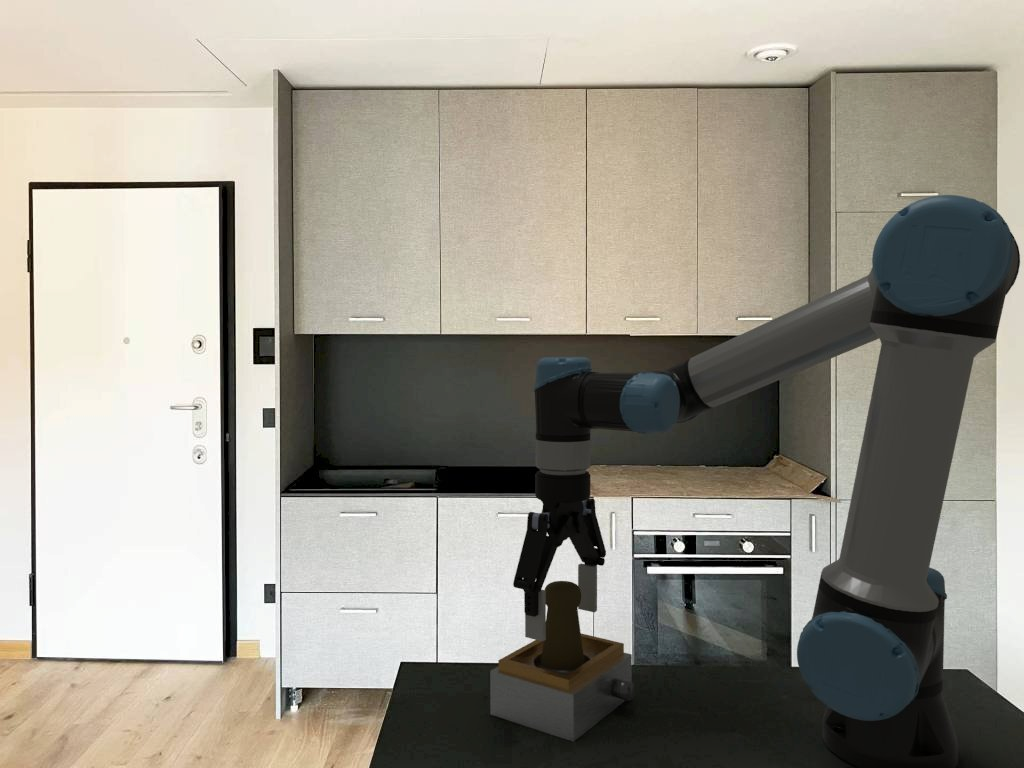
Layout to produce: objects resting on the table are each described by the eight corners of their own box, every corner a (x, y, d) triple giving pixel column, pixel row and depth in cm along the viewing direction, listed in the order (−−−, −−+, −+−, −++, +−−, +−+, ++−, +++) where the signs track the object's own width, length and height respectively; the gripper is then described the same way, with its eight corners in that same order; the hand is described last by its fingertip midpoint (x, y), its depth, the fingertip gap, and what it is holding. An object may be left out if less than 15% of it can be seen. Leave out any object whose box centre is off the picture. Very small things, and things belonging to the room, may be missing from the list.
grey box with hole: (647, 700, 112) (647, 647, 112) (590, 747, 99) (590, 688, 98) (553, 674, 121) (553, 625, 120) (490, 714, 108) (490, 659, 107)
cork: (581, 652, 113) (581, 576, 113) (587, 670, 107) (587, 589, 107) (539, 653, 113) (539, 576, 112) (542, 671, 107) (542, 590, 106)
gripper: (584, 457, 121) (584, 595, 122) (485, 480, 101) (486, 645, 102) (629, 461, 117) (628, 604, 118) (535, 486, 97) (535, 658, 98)
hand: (562, 623), depth 110 cm, fingers open, 13 cm apart
